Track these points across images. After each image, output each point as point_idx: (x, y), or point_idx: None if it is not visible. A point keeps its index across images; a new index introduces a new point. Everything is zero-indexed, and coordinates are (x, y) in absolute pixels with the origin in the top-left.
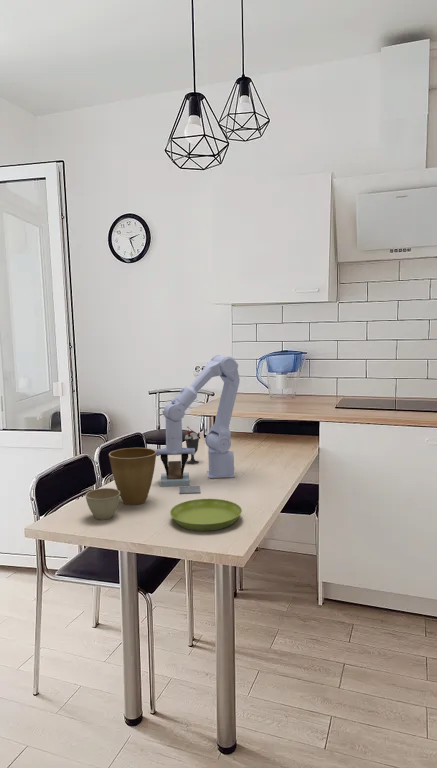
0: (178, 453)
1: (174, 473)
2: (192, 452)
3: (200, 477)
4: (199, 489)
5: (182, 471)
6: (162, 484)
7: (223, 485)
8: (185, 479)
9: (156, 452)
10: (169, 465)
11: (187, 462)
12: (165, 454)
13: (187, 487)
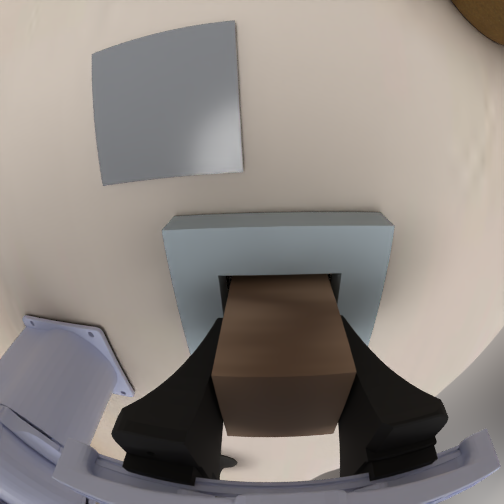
0: (233, 493)
1: (285, 310)
2: (78, 462)
3: (144, 349)
4: (97, 105)
5: (214, 333)
6: (372, 217)
7: (18, 213)
8: (195, 258)
9: (479, 462)
10: (341, 364)
11: (232, 462)
12: (390, 473)
13: (178, 146)
